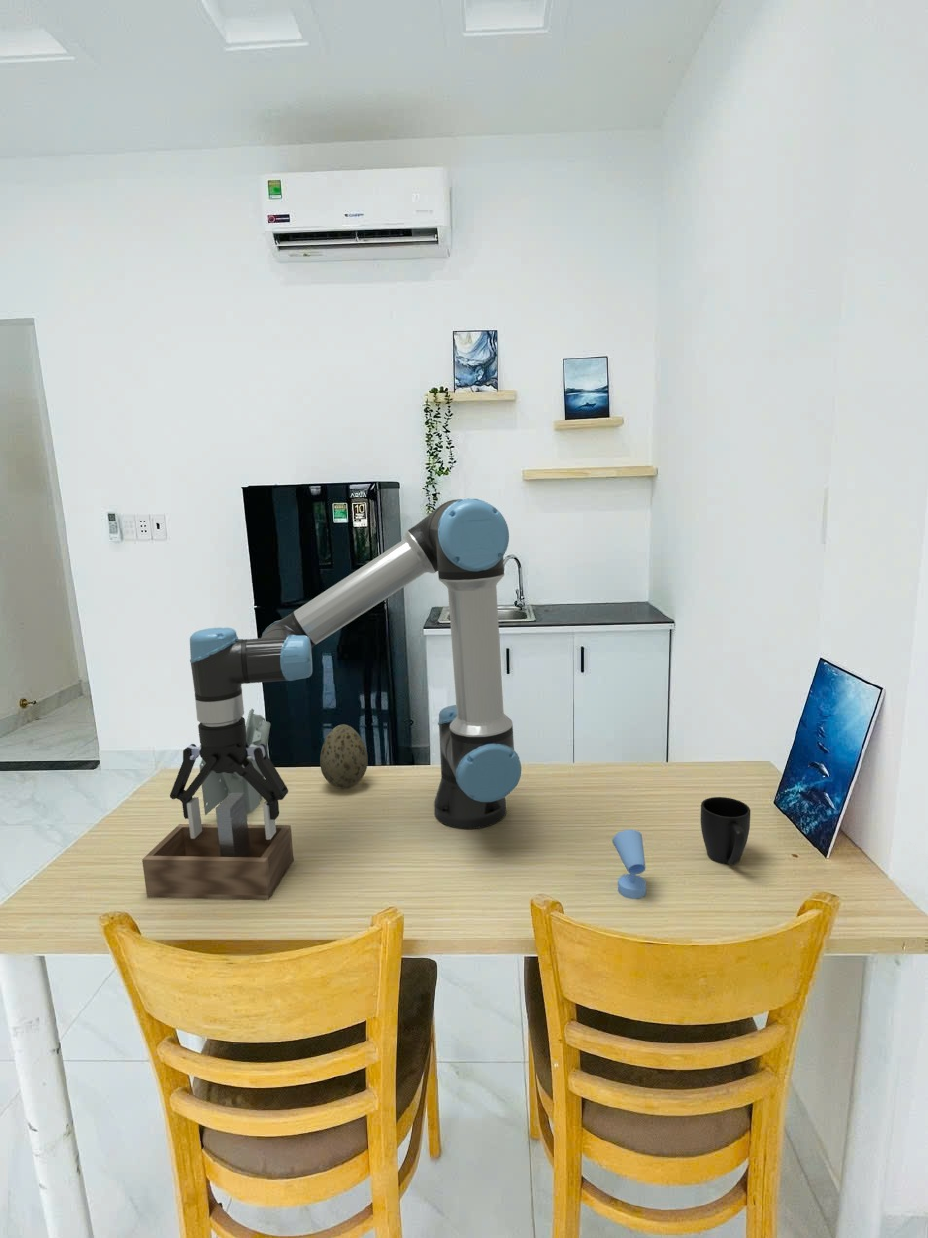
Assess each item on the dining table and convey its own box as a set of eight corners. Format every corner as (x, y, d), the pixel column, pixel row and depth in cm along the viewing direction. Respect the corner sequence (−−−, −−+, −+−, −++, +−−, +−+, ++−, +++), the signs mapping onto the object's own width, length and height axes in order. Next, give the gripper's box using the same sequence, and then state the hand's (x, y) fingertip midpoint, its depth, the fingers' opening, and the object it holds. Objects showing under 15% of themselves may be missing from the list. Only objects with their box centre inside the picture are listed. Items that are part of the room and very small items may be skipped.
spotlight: (610, 878, 114) (622, 902, 107) (611, 824, 112) (622, 845, 105) (639, 876, 114) (652, 900, 107) (639, 822, 112) (653, 843, 106)
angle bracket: (251, 864, 121) (244, 792, 118) (237, 883, 115) (229, 808, 112) (209, 864, 121) (201, 792, 119) (193, 882, 116) (184, 807, 113)
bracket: (225, 840, 132) (215, 744, 128) (192, 838, 133) (181, 743, 129) (285, 781, 158) (278, 701, 155) (257, 780, 159) (250, 700, 156)
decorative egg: (370, 793, 150) (366, 730, 148) (322, 799, 148) (317, 735, 145) (367, 774, 161) (363, 715, 158) (322, 780, 158) (317, 719, 156)
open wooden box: (293, 859, 123) (290, 825, 122) (268, 899, 111) (264, 861, 110) (183, 858, 125) (179, 823, 124) (147, 897, 113) (142, 859, 112)
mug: (711, 880, 112) (713, 828, 111) (694, 843, 124) (695, 796, 122) (762, 881, 111) (765, 829, 110) (740, 844, 123) (742, 796, 121)
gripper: (300, 711, 115) (309, 825, 119) (163, 712, 118) (176, 823, 121) (284, 726, 108) (295, 847, 112) (139, 727, 110) (154, 845, 114)
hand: (233, 835), depth 117 cm, fingers open, 13 cm apart
